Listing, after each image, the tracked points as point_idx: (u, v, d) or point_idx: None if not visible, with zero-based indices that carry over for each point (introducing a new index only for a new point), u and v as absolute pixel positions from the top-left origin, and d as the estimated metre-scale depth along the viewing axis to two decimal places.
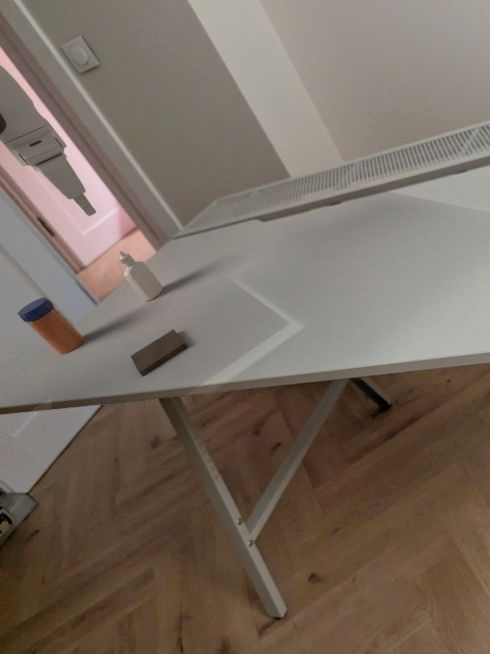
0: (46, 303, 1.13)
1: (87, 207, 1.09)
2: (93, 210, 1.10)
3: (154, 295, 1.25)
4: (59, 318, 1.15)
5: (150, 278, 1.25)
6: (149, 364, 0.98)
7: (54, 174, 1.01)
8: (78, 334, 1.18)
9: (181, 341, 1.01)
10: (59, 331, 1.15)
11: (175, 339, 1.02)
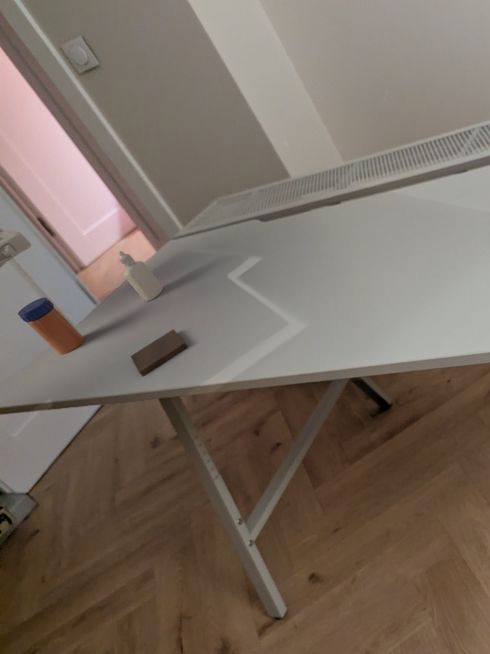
0: (46, 303, 1.13)
1: (11, 252, 1.18)
2: (13, 254, 1.18)
3: (154, 295, 1.25)
4: (59, 318, 1.15)
5: (150, 278, 1.25)
6: (149, 364, 0.98)
7: None
8: (78, 334, 1.18)
9: (181, 341, 1.01)
10: (59, 331, 1.15)
11: (175, 339, 1.02)
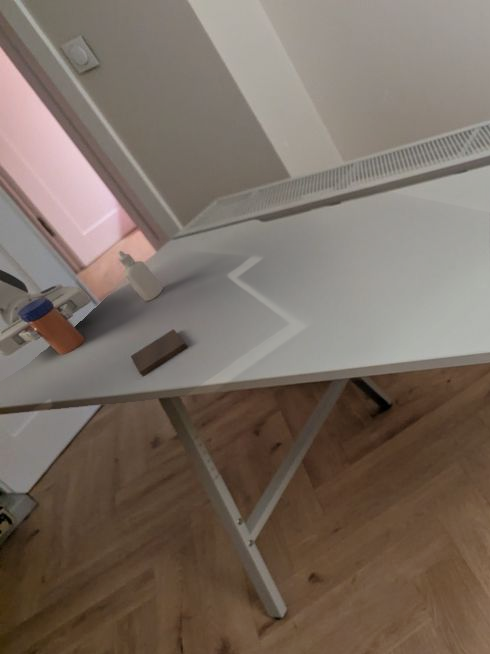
0: (46, 302, 1.13)
1: None
2: (71, 314, 1.18)
3: (154, 295, 1.25)
4: (59, 318, 1.15)
5: (150, 278, 1.25)
6: (149, 364, 0.98)
7: None
8: (78, 334, 1.18)
9: (181, 341, 1.01)
10: (59, 331, 1.15)
11: (175, 339, 1.02)
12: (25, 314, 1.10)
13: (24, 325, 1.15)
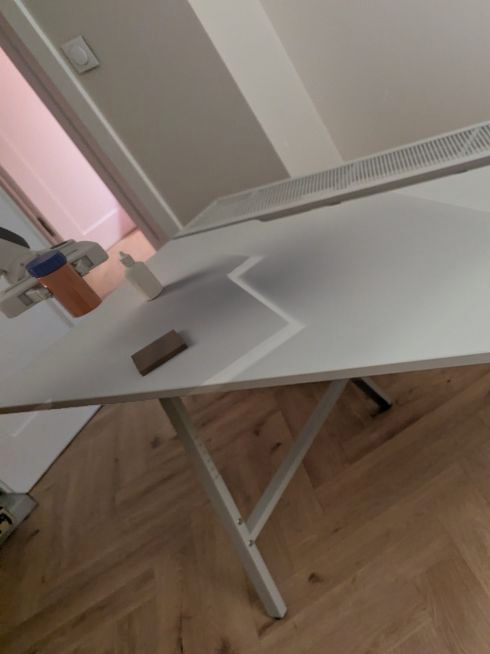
0: (58, 255, 0.95)
1: None
2: None
3: (154, 295, 1.25)
4: (73, 275, 0.97)
5: (150, 278, 1.25)
6: (149, 364, 0.98)
7: None
8: (95, 294, 1.01)
9: (181, 341, 1.01)
10: (74, 290, 0.97)
11: (175, 339, 1.02)
12: (34, 267, 0.93)
13: (32, 283, 0.98)
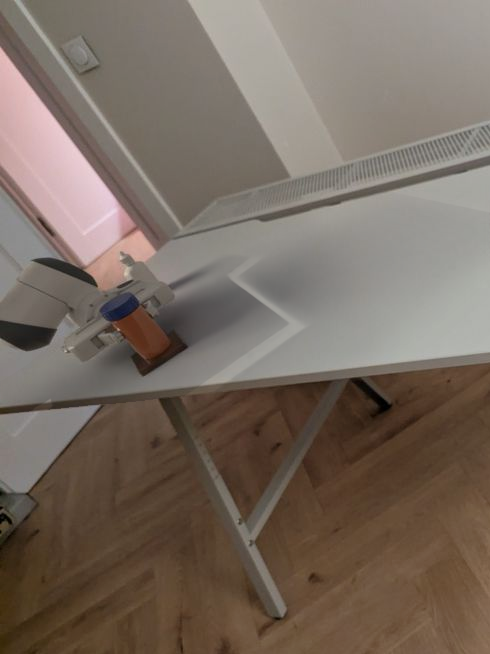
0: (132, 298, 0.95)
1: None
2: None
3: None
4: (146, 317, 0.97)
5: (150, 278, 1.25)
6: (149, 364, 0.98)
7: None
8: (165, 336, 1.01)
9: (181, 341, 1.01)
10: (146, 333, 0.97)
11: (175, 339, 1.02)
12: (109, 312, 0.93)
13: (104, 325, 0.98)
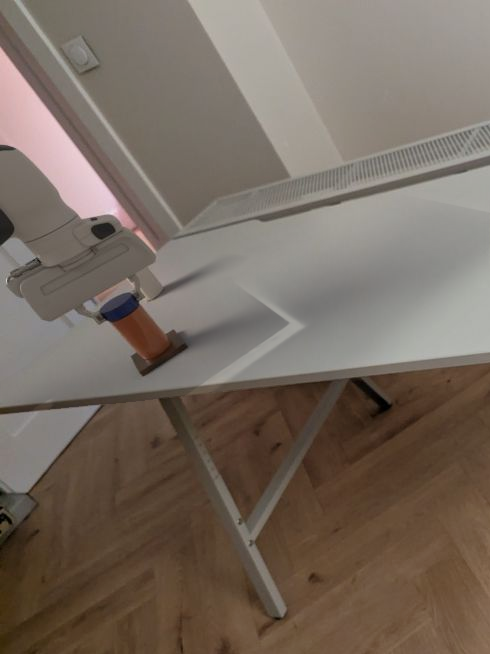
0: (132, 298, 0.95)
1: None
2: None
3: (154, 295, 1.25)
4: (146, 317, 0.97)
5: (150, 278, 1.25)
6: (149, 364, 0.98)
7: (138, 236, 0.93)
8: (165, 336, 1.01)
9: (181, 341, 1.01)
10: (146, 333, 0.97)
11: (175, 339, 1.02)
12: (109, 312, 0.93)
13: (85, 301, 0.90)
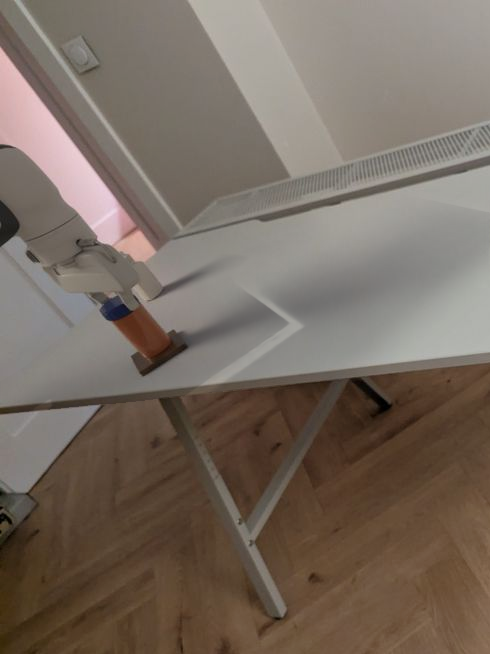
0: None
1: None
2: None
3: (154, 295, 1.25)
4: (147, 315, 0.98)
5: (150, 278, 1.25)
6: (149, 364, 0.98)
7: None
8: (165, 333, 1.01)
9: (181, 341, 1.01)
10: (148, 330, 0.98)
11: (175, 339, 1.02)
12: None
13: None
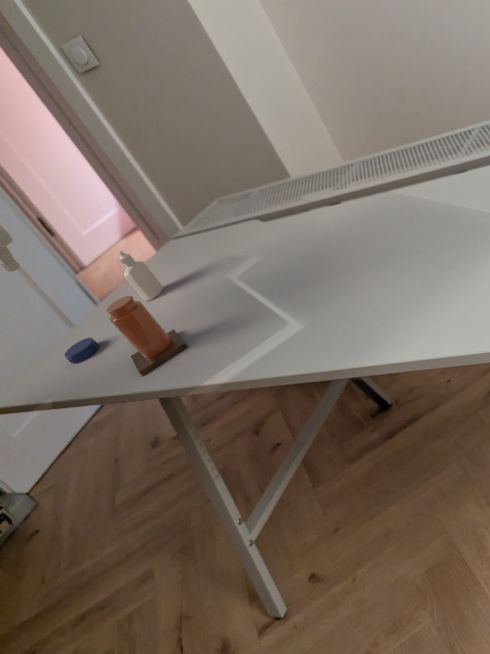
0: None
1: None
2: None
3: (154, 295, 1.25)
4: (147, 315, 0.98)
5: (150, 278, 1.25)
6: (149, 364, 0.98)
7: None
8: (166, 333, 1.01)
9: (181, 341, 1.01)
10: (148, 330, 0.98)
11: (175, 339, 1.02)
12: (93, 340, 1.13)
13: None
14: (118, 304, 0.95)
